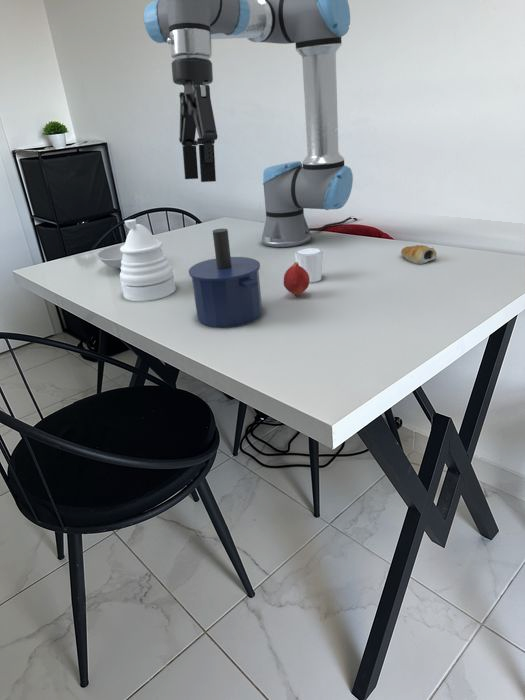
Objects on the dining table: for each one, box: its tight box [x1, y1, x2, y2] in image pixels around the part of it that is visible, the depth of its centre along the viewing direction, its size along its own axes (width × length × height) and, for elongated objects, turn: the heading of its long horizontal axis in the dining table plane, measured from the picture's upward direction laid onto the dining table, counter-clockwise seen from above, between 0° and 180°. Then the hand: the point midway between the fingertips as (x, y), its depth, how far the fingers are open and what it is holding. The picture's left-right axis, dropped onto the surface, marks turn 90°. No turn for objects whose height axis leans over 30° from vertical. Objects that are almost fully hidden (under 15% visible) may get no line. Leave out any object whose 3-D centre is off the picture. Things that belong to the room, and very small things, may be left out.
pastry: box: [400, 244, 437, 265], centre depth 133 cm, size 9×7×4 cm
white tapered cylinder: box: [294, 247, 324, 283], centre depth 124 cm, size 7×7×7 cm
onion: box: [283, 261, 310, 297], centre depth 114 cm, size 6×6×8 cm
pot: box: [191, 269, 263, 329], centre depth 107 cm, size 14×19×10 cm
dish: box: [95, 243, 125, 269], centre depth 147 cm, size 18×14×5 cm
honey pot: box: [119, 219, 177, 302], centre depth 123 cm, size 13×13×18 cm
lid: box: [188, 228, 261, 281], centre depth 103 cm, size 15×15×9 cm
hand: (199, 180), depth 102 cm, fingers open, 13 cm apart
